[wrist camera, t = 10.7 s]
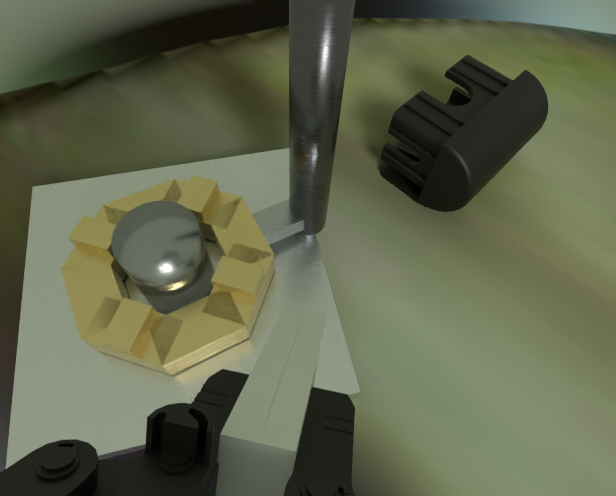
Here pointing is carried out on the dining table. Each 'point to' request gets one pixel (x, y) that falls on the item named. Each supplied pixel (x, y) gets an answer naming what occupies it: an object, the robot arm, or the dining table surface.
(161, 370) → the gold and grey piece
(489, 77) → the end cap
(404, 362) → the dining table surface
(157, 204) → the housing
